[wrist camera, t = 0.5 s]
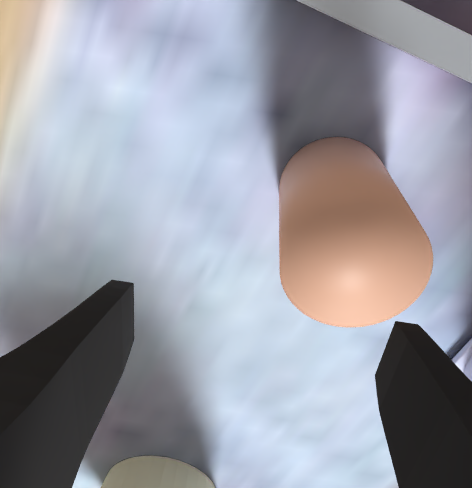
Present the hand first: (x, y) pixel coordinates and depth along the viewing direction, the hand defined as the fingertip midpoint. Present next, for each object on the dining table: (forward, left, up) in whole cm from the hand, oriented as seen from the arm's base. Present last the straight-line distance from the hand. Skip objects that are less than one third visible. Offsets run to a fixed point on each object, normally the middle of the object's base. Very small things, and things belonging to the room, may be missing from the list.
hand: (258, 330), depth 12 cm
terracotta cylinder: (-3, -1, -10) cm, 11 cm away
